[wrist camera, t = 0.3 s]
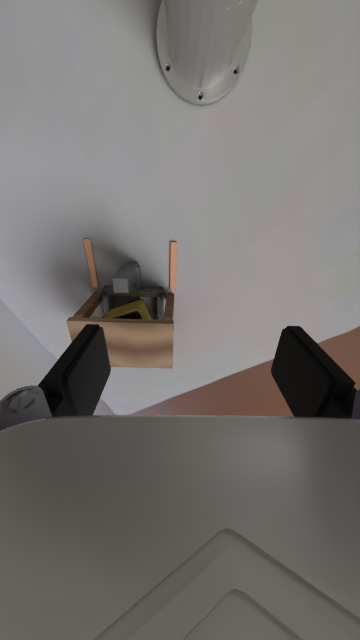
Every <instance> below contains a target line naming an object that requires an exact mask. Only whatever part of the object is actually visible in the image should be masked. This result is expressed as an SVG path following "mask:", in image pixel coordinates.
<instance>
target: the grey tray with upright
mask: <svg viewBox="0 0 360 640" xmlns="http://www.w3.org/2000/svg"><path fill="white" fill-rule="evenodd" d="M112 281H113V286H104V287H103V288H102V289H101V296H102V302H103V308H104V314H105V315H106V314H107V313H108V312H109V311H110V310H111V309H113V305H112V298H111V296H136V297H157V316H158V320H163V319H164V288H158V287H141V280H140V265H138V263H135V262H126V263H125V264H124V265H123V266H122V267H121V269H120V270H119V271H118V272H117V273H116V274H115V276H114V277H113V278H112Z"/></svg>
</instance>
